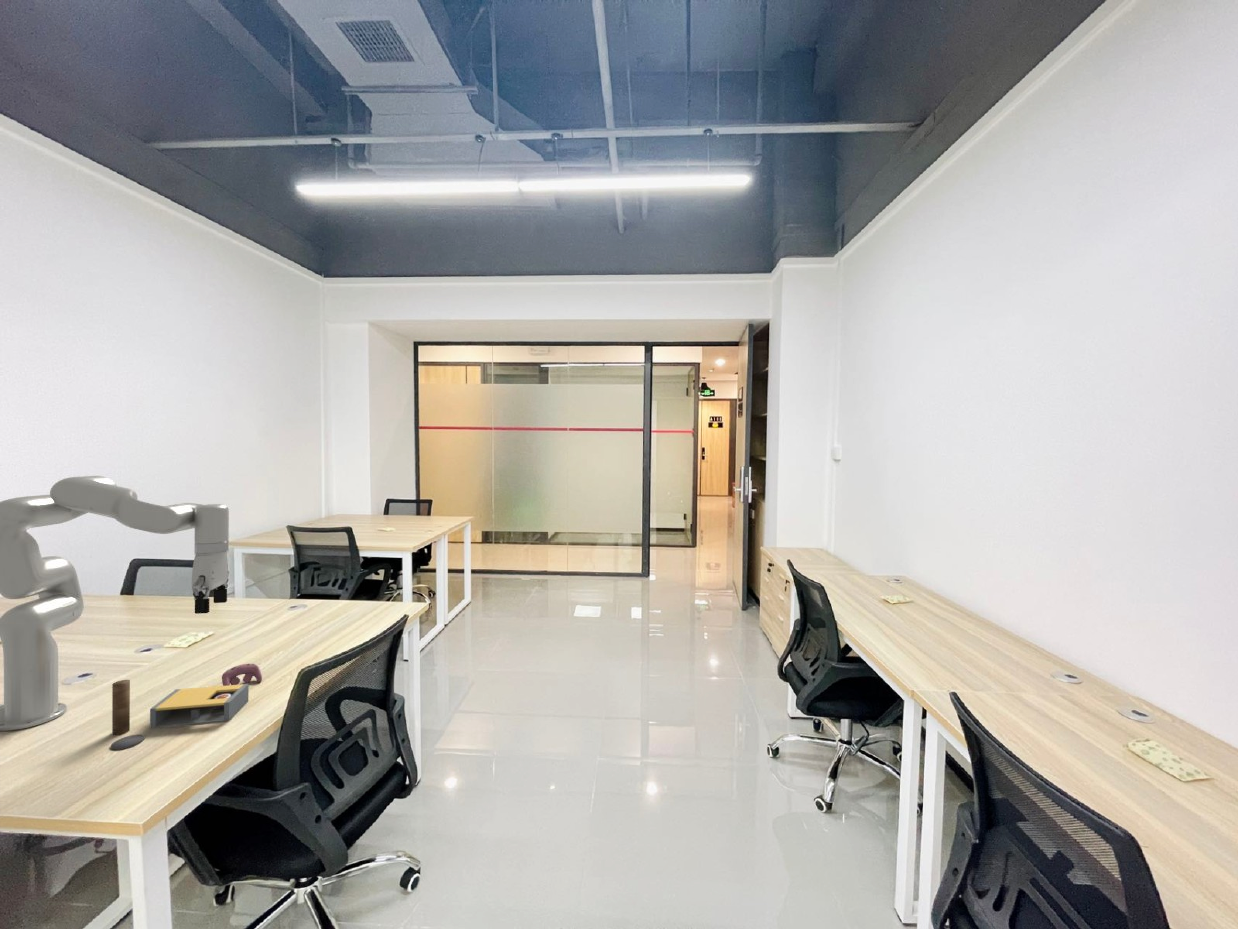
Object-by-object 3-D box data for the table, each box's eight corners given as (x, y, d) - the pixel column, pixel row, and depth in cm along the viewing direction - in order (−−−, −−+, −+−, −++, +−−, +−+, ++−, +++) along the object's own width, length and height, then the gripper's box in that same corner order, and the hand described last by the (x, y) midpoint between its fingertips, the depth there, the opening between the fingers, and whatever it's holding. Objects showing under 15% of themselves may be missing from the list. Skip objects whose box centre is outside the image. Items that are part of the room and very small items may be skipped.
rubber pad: (104, 751, 121) (104, 749, 121) (122, 737, 127) (122, 736, 127) (134, 748, 123) (134, 746, 123) (150, 734, 129) (150, 733, 129)
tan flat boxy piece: (149, 728, 132) (150, 709, 132) (175, 707, 142) (175, 689, 142) (229, 721, 136) (229, 702, 136) (248, 701, 147) (248, 684, 147)
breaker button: (211, 706, 138) (211, 700, 138) (218, 699, 142) (218, 694, 142) (226, 704, 139) (226, 699, 139) (233, 698, 143) (233, 693, 142)
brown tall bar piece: (108, 736, 128) (109, 685, 127) (118, 729, 131) (118, 680, 131) (124, 734, 129) (124, 684, 128) (132, 728, 132) (133, 679, 131)
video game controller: (259, 683, 161) (256, 661, 163) (263, 681, 159) (260, 658, 161) (221, 694, 154) (219, 671, 156) (225, 692, 151) (222, 668, 153)
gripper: (212, 542, 149) (212, 599, 150) (177, 554, 133) (177, 618, 133) (241, 542, 151) (241, 598, 152) (211, 553, 135) (210, 616, 135)
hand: (211, 607), depth 142 cm, fingers open, 9 cm apart
